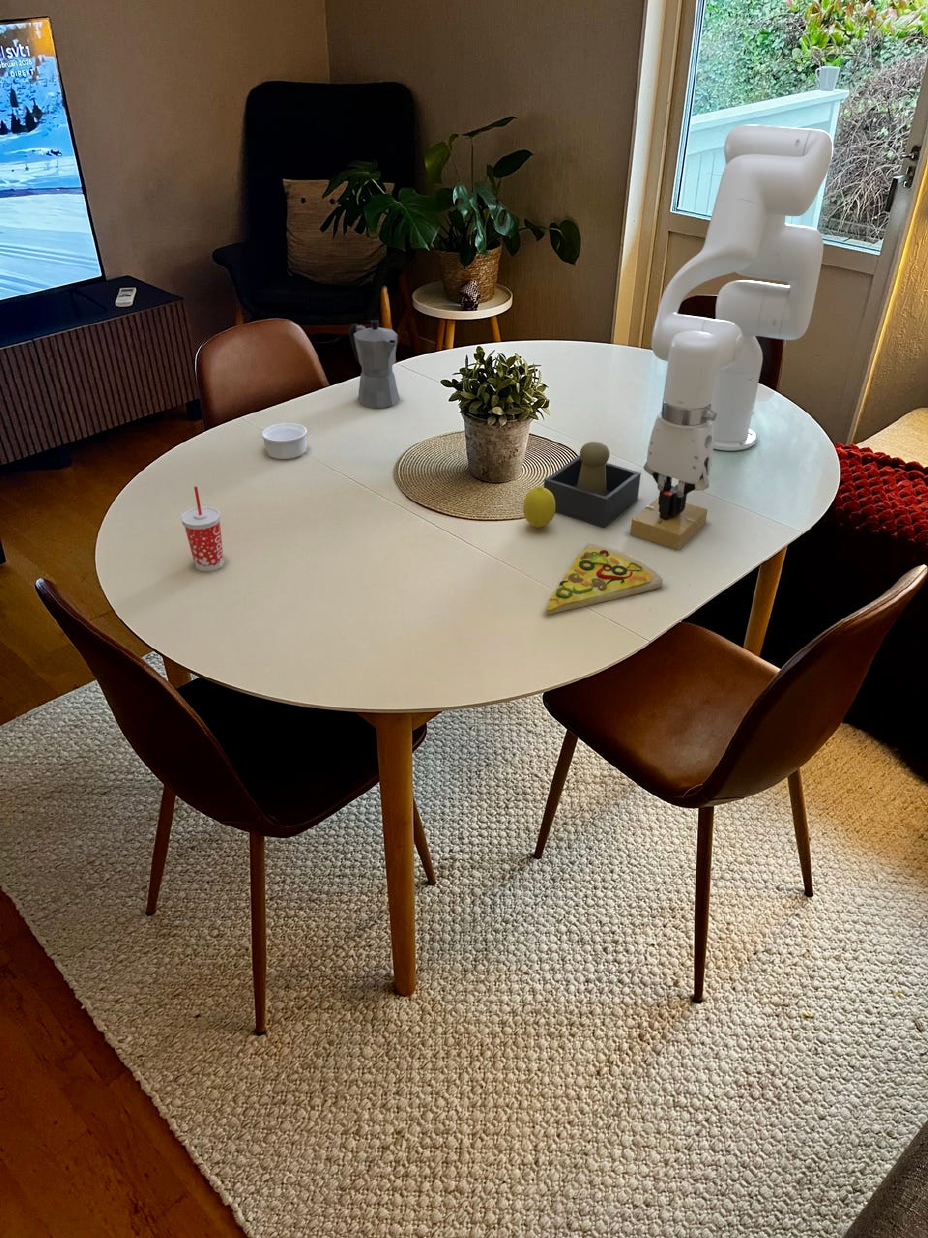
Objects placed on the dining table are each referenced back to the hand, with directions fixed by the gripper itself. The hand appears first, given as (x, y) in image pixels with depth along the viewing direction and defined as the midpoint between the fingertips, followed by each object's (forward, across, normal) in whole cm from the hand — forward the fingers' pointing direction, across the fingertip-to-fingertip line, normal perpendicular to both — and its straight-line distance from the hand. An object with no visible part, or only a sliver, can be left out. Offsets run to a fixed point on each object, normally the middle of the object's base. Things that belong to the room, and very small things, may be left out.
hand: (670, 511), depth 164 cm
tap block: (+4, 0, 0) cm, 4 cm away
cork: (+3, +16, +1) cm, 16 cm away
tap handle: (0, 0, 0) cm, 0 cm away
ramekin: (+4, +74, +23) cm, 77 cm away
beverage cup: (+4, +51, +59) cm, 78 cm away
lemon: (+4, +17, +14) cm, 23 cm away
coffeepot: (+4, +79, -8) cm, 80 cm away
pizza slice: (+4, 0, +25) cm, 25 cm away
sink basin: (+4, +15, +1) cm, 16 cm away
